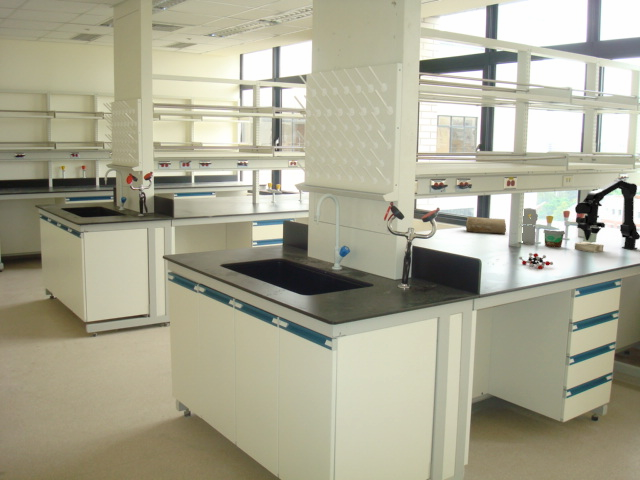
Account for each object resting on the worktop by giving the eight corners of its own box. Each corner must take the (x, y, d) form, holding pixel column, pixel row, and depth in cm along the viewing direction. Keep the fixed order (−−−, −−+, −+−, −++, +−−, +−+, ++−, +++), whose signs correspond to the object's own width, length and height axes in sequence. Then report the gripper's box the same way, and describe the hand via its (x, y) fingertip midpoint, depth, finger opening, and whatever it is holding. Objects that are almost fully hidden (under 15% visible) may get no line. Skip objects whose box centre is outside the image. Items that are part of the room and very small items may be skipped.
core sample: (505, 235, 411) (506, 220, 409) (465, 232, 418) (466, 218, 416) (505, 232, 424) (506, 218, 422) (466, 229, 431) (467, 215, 429)
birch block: (584, 248, 368) (584, 241, 367) (602, 251, 358) (603, 244, 357) (574, 249, 362) (575, 243, 362) (593, 253, 352) (593, 246, 352)
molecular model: (544, 263, 316) (559, 263, 301) (525, 276, 314) (539, 276, 299) (534, 246, 315) (549, 245, 300) (515, 259, 314) (529, 258, 299)
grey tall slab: (535, 243, 377) (539, 208, 374) (534, 244, 374) (537, 209, 370) (518, 242, 382) (521, 207, 379) (516, 242, 379) (519, 207, 375)
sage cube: (588, 240, 363) (589, 232, 362) (596, 242, 359) (596, 233, 358) (583, 241, 360) (584, 232, 359) (590, 242, 356) (591, 234, 355)
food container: (540, 246, 368) (542, 230, 367) (542, 244, 374) (543, 228, 372) (562, 248, 363) (564, 231, 361) (563, 247, 368) (565, 230, 366)
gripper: (589, 211, 368) (586, 236, 371) (570, 212, 358) (567, 239, 361) (606, 213, 359) (603, 239, 362) (587, 215, 349) (584, 241, 352)
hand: (589, 239), depth 359 cm, fingers closed on sage cube, 5 cm apart
